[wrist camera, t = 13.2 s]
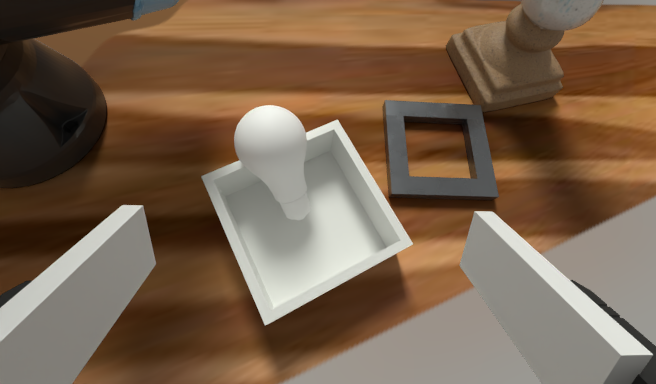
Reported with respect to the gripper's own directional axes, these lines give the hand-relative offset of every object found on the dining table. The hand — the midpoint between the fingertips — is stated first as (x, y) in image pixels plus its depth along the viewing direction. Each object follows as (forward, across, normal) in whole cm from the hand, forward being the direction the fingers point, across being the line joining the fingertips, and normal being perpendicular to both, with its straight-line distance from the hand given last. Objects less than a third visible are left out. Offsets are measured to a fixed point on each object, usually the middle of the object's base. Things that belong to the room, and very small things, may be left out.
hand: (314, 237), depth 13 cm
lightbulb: (+16, -1, -8) cm, 18 cm away
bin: (+17, 0, -9) cm, 19 cm away
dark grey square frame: (+23, +14, -3) cm, 27 cm away
